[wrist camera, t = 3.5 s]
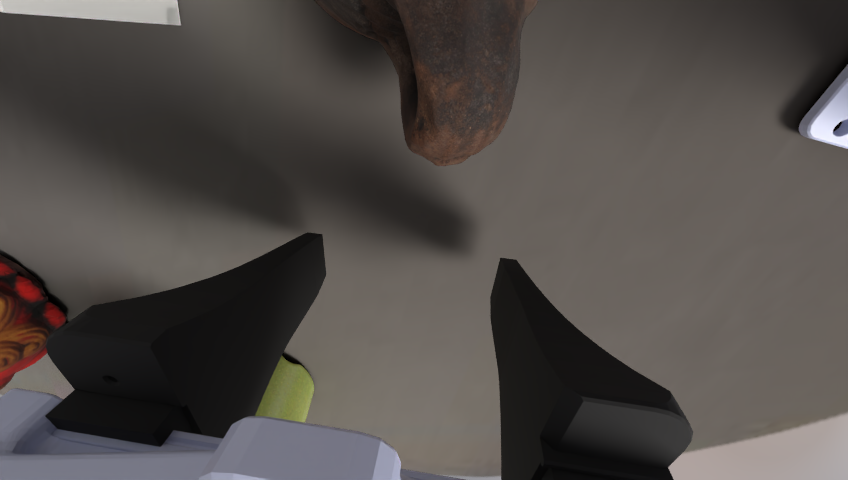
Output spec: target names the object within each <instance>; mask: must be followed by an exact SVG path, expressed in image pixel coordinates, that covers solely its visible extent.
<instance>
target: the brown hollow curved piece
mask: <svg viewBox="0 0 848 480" xmlns="http://www.w3.org/2000/svg"><path fill="white" fill-rule="evenodd" d="M315 1H316V3H317V4H318V5H319V6H321V7H322V8H323V9H324V10H325V11H326V12H327V13H328V14H329V15H330V16H332V17H333V18H334V19H335V20H337V21H338V22H339V23H341V24H342V25H344V26H346V27H348V28H350V29H352V30H354V31H356V32H357V33H360V34H362V35H364V36H366V37H369V38H371V39H374V40H376V41H378V42H380V43H381V44H382V45H383V47H384V49H385V50H386V52H387V54H388V55H389V57H390V58H391V60H392V62H393V64H394V66H395V69H396V71H397V74H398V76H399V84H400V93H401V115H402V123H403V129H404V135H405V140H406V143H407V146H408V148H409V149H410V150H411V151H412V152H414V153H416V154H418V155H421V156H423V157H425V158H426V159H428V160H429V161H431V162H433V163H434V164H435V165H437V166H447V165H453V164H458V163H461V162H463V161H465V160H466V159H467V158H468V157H470V156H471V155H474V154H476V153H478V152H480V151H481V150H482V149H483V148H485V147H486V146H487V145H489V144H491V143H492V142H493V141H494V140H495V139H496V138H497V137H498V135H499V134H500V132H501V130H502V129H503V127H504V125H505V123H506V121H507V119H508V116H509V113H510V111H511V108H512V103H513V99H514V95H515V90H516V86H517V82H518V77H519V68H520V39H521V31H522V27H523V24H524V21H525V19H526V17H527V16H528V15H529V14H530V13H531V11H532V10H533V9H534V8H535V6H536V5H537V2H538V0H315Z"/></svg>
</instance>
